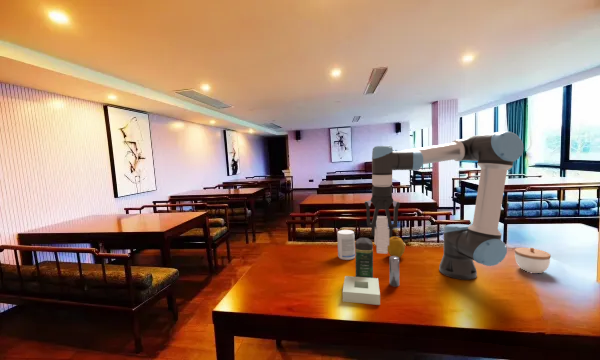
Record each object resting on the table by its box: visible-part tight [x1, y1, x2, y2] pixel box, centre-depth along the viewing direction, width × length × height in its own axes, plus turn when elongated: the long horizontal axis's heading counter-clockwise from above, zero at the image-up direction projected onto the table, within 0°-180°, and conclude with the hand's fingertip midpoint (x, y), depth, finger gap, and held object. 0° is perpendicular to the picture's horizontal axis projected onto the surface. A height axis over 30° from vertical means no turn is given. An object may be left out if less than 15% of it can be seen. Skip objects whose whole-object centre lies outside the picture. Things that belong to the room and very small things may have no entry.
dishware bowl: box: [514, 247, 551, 274], centre depth 123 cm, size 13×13×11 cm
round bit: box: [388, 255, 400, 287], centre depth 114 cm, size 4×4×12 cm
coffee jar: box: [354, 237, 374, 278], centre depth 120 cm, size 10×8×19 cm
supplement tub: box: [336, 229, 356, 261], centre depth 147 cm, size 10×10×15 cm
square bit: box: [375, 215, 389, 255], centre depth 104 cm, size 4×4×14 cm
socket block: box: [342, 275, 381, 306], centre depth 107 cm, size 14×14×4 cm
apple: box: [388, 236, 406, 259], centre depth 145 cm, size 10×10×12 cm
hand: (381, 243), depth 104 cm, fingers closed on square bit, 4 cm apart
